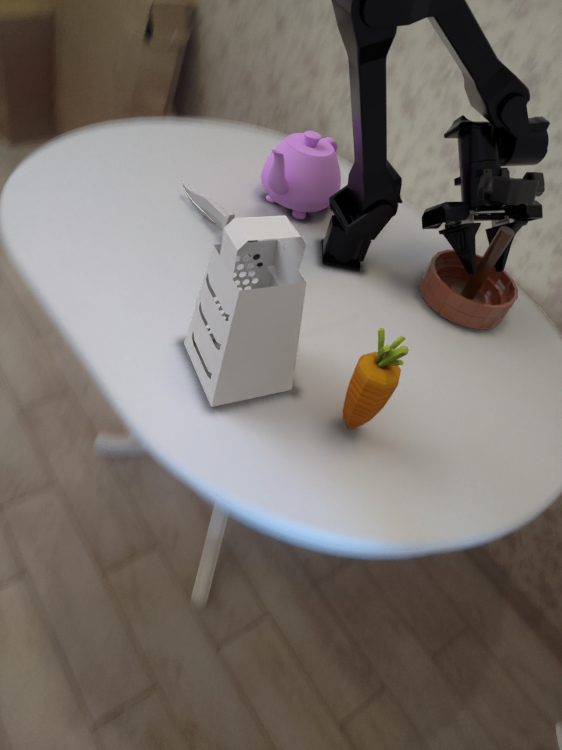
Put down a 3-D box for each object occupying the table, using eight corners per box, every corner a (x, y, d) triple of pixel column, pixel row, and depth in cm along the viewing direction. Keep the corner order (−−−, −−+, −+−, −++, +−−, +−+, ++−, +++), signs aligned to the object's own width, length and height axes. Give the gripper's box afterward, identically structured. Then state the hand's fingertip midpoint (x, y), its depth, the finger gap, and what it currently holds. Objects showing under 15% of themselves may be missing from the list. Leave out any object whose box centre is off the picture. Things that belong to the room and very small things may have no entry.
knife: (175, 193, 87) (177, 165, 83) (184, 192, 88) (187, 164, 84) (259, 281, 76) (265, 253, 72) (268, 278, 77) (275, 251, 73)
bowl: (426, 323, 78) (440, 298, 74) (412, 267, 87) (424, 242, 84) (511, 338, 80) (529, 314, 76) (488, 281, 89) (503, 258, 86)
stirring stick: (451, 307, 81) (493, 238, 71) (444, 284, 85) (483, 215, 75) (486, 314, 82) (533, 246, 72) (477, 290, 86) (520, 223, 76)
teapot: (290, 241, 85) (308, 169, 76) (227, 200, 89) (237, 128, 80) (353, 205, 97) (375, 140, 88) (295, 171, 101) (310, 106, 92)
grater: (183, 343, 65) (198, 199, 50) (259, 331, 69) (293, 196, 54) (211, 407, 59) (236, 266, 44) (291, 389, 63) (338, 256, 49)
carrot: (326, 409, 62) (367, 318, 51) (364, 411, 63) (412, 323, 52) (332, 443, 59) (377, 354, 48) (372, 445, 60) (425, 359, 49)
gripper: (471, 145, 65) (479, 270, 67) (573, 149, 72) (577, 261, 74) (415, 172, 75) (423, 279, 77) (509, 173, 82) (514, 271, 84)
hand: (486, 272), depth 78 cm, fingers open, 5 cm apart
